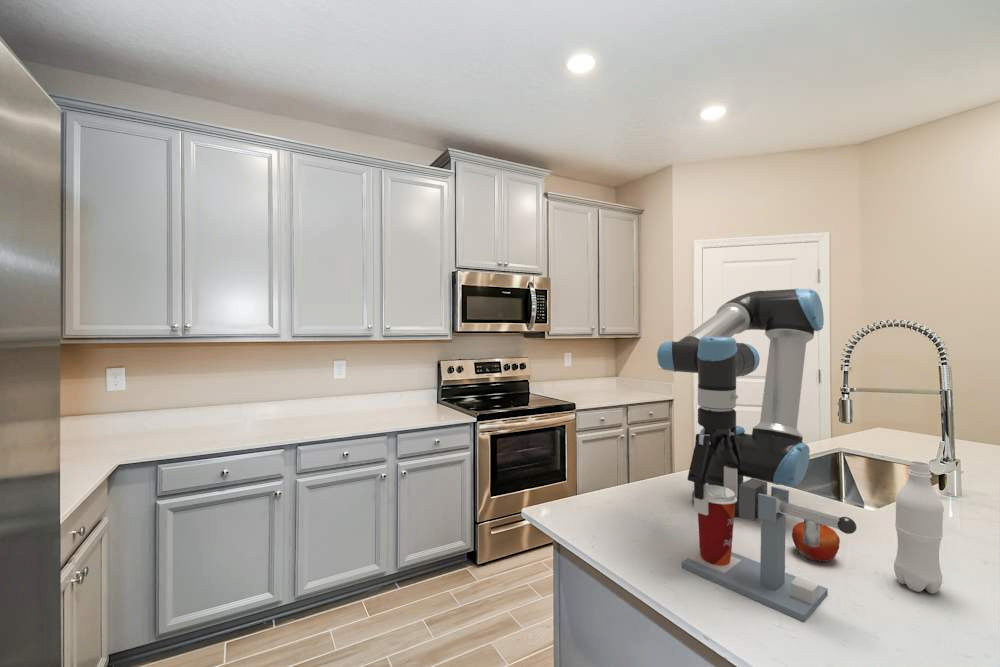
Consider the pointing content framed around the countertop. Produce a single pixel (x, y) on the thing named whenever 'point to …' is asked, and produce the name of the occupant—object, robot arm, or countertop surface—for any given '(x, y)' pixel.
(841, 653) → the countertop surface
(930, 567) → the water bottle
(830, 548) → the tomato
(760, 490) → the lever
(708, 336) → the robot arm
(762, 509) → the frame
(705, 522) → the coffee cup
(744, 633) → the countertop surface
